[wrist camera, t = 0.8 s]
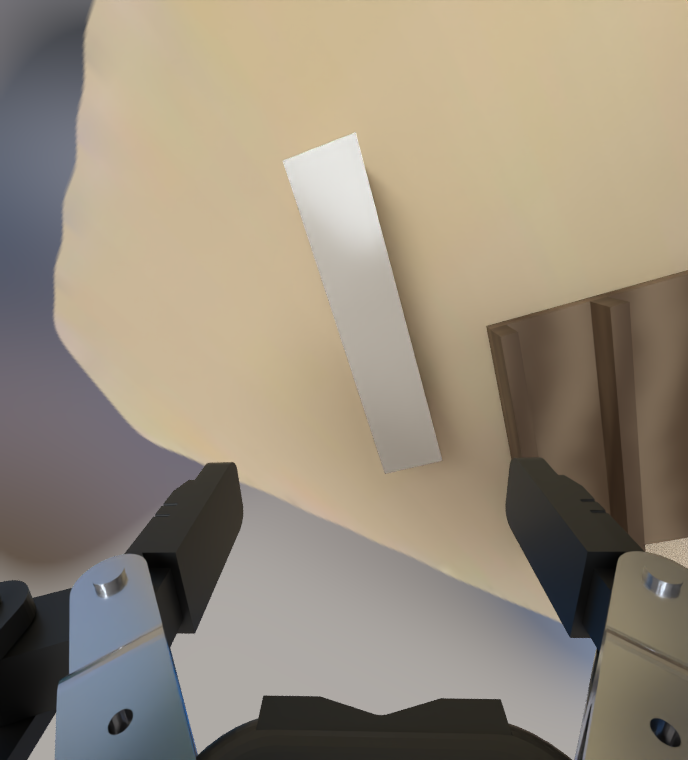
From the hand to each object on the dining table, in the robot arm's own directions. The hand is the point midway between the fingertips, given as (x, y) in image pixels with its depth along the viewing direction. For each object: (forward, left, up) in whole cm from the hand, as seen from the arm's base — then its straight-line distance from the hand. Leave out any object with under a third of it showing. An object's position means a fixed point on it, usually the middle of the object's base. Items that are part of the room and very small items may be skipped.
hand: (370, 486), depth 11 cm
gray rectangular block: (-1, -2, -21) cm, 21 cm away
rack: (-17, +14, -21) cm, 30 cm away
